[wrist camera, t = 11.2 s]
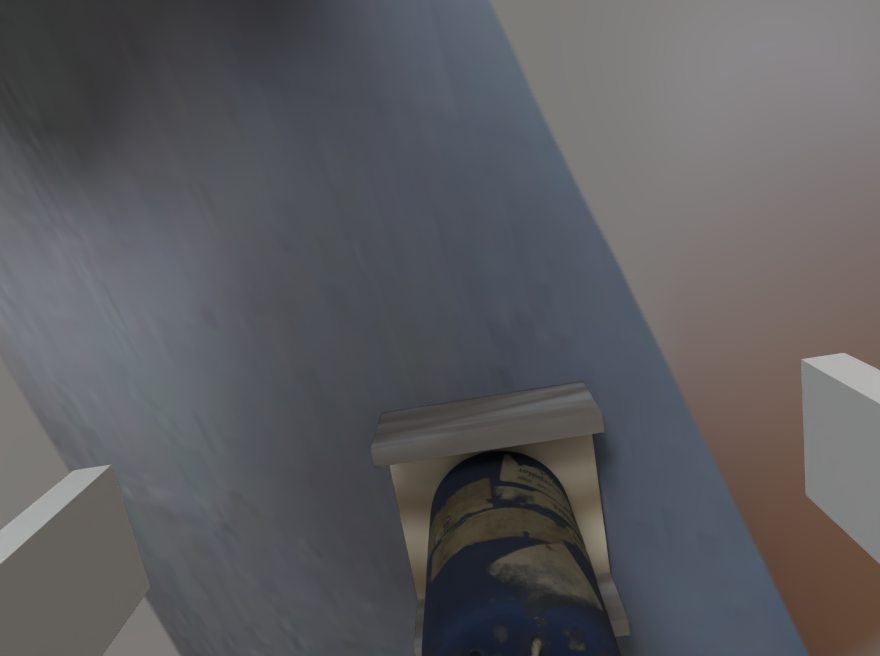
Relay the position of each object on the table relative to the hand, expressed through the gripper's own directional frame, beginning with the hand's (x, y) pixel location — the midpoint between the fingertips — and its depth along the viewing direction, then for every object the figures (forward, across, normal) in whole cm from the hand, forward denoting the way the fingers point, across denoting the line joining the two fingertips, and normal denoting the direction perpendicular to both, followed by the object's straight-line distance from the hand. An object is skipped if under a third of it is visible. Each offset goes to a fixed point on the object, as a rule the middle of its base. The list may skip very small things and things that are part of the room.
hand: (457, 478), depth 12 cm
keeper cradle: (+31, 0, -18) cm, 36 cm away
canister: (+30, 0, -18) cm, 35 cm away
